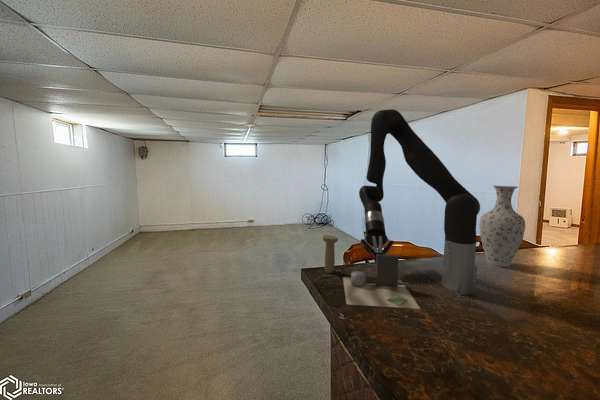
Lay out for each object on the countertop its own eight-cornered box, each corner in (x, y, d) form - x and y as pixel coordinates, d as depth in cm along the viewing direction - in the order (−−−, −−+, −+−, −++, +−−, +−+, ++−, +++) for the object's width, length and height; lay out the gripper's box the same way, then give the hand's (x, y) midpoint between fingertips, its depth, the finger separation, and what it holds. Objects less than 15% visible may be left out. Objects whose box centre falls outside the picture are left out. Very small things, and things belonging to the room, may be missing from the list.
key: (351, 286, 92) (352, 256, 90) (350, 280, 97) (351, 251, 95) (410, 289, 90) (412, 258, 88) (406, 283, 94) (408, 254, 93)
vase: (518, 262, 122) (526, 186, 119) (524, 273, 109) (533, 187, 105) (476, 256, 131) (482, 184, 127) (476, 266, 117) (483, 186, 114)
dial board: (400, 283, 98) (400, 279, 98) (420, 312, 77) (420, 308, 77) (342, 280, 100) (342, 276, 100) (346, 308, 80) (346, 303, 79)
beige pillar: (329, 278, 102) (330, 239, 100) (319, 272, 107) (320, 236, 106) (339, 276, 104) (340, 238, 103) (329, 270, 110) (330, 234, 108)
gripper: (359, 218, 107) (361, 258, 97) (393, 219, 106) (399, 259, 95) (357, 228, 113) (359, 267, 102) (389, 229, 112) (395, 268, 101)
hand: (379, 263), depth 99 cm, fingers closed
